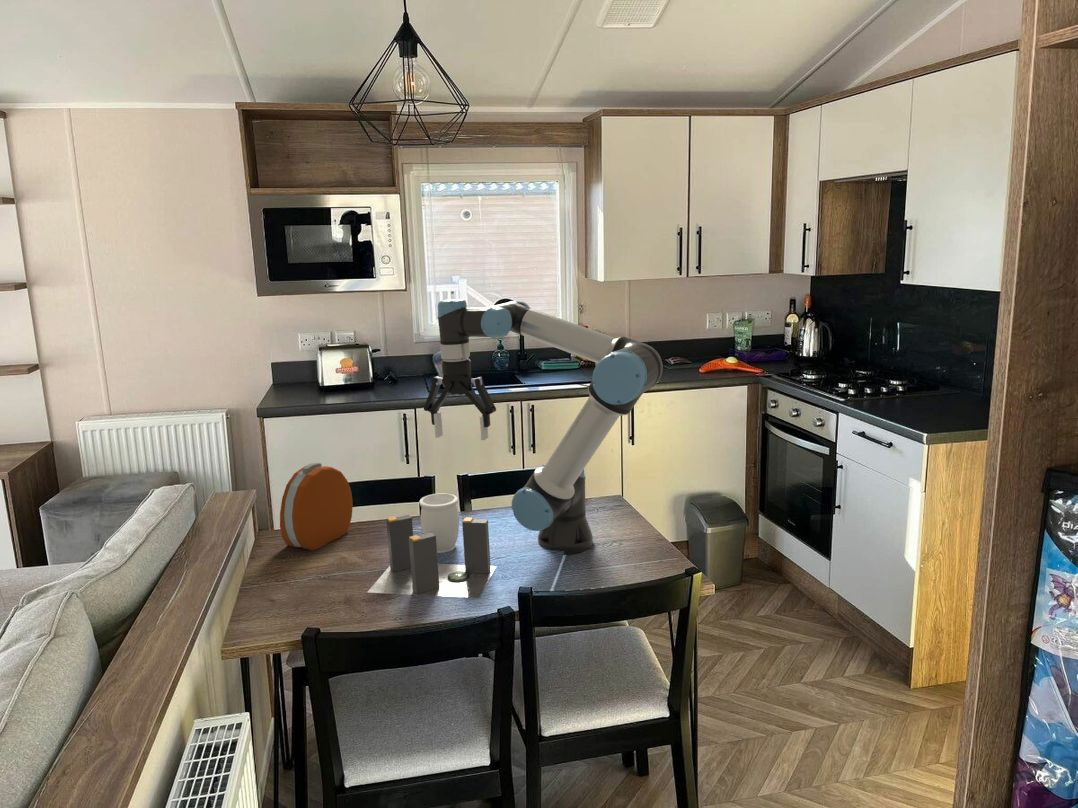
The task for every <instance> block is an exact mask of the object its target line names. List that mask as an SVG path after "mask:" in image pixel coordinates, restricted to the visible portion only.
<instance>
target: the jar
mask: <svg viewBox="0 0 1078 808" xmlns="http://www.w3.org/2000/svg"><path fill="white" fill-rule="evenodd" d="M458 502H459V498H458V496H457V495H455V494H452V493H447V492H446V493H442V492H440V493H432V494H428V495H424V496H423V497H421V498H420V500H419V506H420V507H421V510H420V525H421V531H422V533H423V534H422V535H424V534H428V533H433V534H434V535H436V545H437V554H439V553H440V554H441V553H448V552H451V551H453V550H454V549H456V547H457V545H456V544H457V542H458V538H459V530H460V529H459V528H460V512H459V509H458V506H457V504H458Z"/></svg>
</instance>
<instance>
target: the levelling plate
mask: <svg viewBox="0 0 1078 808" xmlns="http://www.w3.org/2000/svg"><path fill="white" fill-rule="evenodd" d="M490 567H491V570H490V571H489V573H467V572H465V564H453V563H452V564H451V563H438V573H439V588H437V589H433V590H430V591H427V592H423V593H420V594H416V593H415V592H413V588H412V575H411V568H408V569H404V570H399V571H395V572H393V571H392V570H391V569H390V565H389V566H388V567H387V568H386V570H384V572H383V573H382V574H381V576H379V578H378V579H377V580H376V581H375V582H374V583H373V585H372V586H371V587H370V588H369V589H368V591H367V593H368V594H387V595H388V594H389V595H404V596H405V595H406V596H428V597H429V596H430V597H431V596H432V597H446V598H447V597H448V598H449V597H450V598H451V597H452V598H464V599H465V598H466V599H467V598H468V599H480V597H481V596H482V594H483V592H484V590H485V588H486V586H487V585H488V583H489V581H490V579H491V577H492V576H493V574H494V572H495V570H496V568H497V565H490Z"/></svg>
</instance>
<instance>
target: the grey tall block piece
mask: <svg viewBox="0 0 1078 808" xmlns="http://www.w3.org/2000/svg"><path fill="white" fill-rule="evenodd" d="M461 523H462V538H463V539H462V540H463V556H464V565H465V572H467V573H489V571H490V570H491V567H490V566H491V553H490V552H491V551H490V549H491V548H490V535H489V534H490V533H489V531H490V530H489V519H486V518H485V519H484V518H481V519H479V518H474V517H471V516H470V517H468V516H467V517H464V519H463V520H462V522H461Z"/></svg>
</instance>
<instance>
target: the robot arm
mask: <svg viewBox="0 0 1078 808" xmlns="http://www.w3.org/2000/svg"><path fill="white" fill-rule="evenodd" d="M437 321H438V331H439V343H440V344H439V345H440V346H439V347H440V358H441V359H442V361H441V372H442V377H441V376H440V375H437V376H433V377H432V379H431V388H430V390H429V393H428V396H427V398H426V402H425V404H424V406H423V411H425V412H429V413H430V418H431V420H430V421H431V425H432V426H434V434H435V438H436V439H437V438H440V437H443V435H444V434H443V421H442V420H443V419H442V412H441V411H440V408H441V407H442V406H443V404H444V403H445V401H446V400H447V399H448V397H449V396H450V395H452V396H453V395H458V396H463V395H465V396H466V397H467V398H468V399H469V400H470V401H471V403H472V404H473V405H474V406H475V407H476V409H477V410H478V411H479V412H480V414H481V415H480V416H479V425H480V440H481V441H485V440H487V439H488V438H489V429H488V428H489V427H490V426H491V417H490V416H491V414H493V413H495V412H497V407H496V405H495V403H494V402H493V399H492V398H491V396H490V394H489V392H488V389H487V388H486V386H485V384H484V378H483V377H482V376H478V377H475V378H473V377H472V366H471V365H472V363H471V359H470V358H469V357H470V356H471V351H470V338H471V337H472V338H473V337H475V338H491V339H496V338H504V337H507V336H508V335H509V333H510V332H511V333H515V334H517V335H519V336H522V337H523V336H524V337H526V338H528V339H531V340H534V341H536V342H538V343H542V344H545V345H547V346H550V347H553V348H556V349H558V350H561V351H564V352H566V353H569V354H572V355H573V356H577V357H579V358H582V359H585V360H588V361H591V362H594V363H596V366H595V367H594V370H593V373H592V380H591V382H590V383H589V385H588V386H587V391H588V396H589V397H588V399H587V400H586V401H585V403H584V404H583V406H582V408H581V409H580V410H579V413H578V414H577V415H576V416H575V418H574V421H572V424H570V426H569V428H568V429H567V431H566V433H565V434H564V436H563V437H562V439H561V440H560V442H559V444H558V445H557V447H556V448H555V450H554V451H553V453H552V454H551V456H550V457H549V459H548V461H547V462H545V463H543V464H542V466H538V467H536V468H535V470H534V471H533V473H532V474H531V476H530V477H529V479H528V480H527V483H525V485H524V486H523V487H522V488H520V489H518V490H517V491H516V492H515V494H514V495H513V496H512V500H511V509H512V512H513V516H514V518H515V519H516V521H517V522H518V523H519V524H520V525H521V527H523V528H525V529H526V530H528V531H532V532H535V531H536V532H538V531H539V532H538V534H537V535H538V536H537V543H538V545H540V547H542V548H545V549H548V550H552V551H557V552H559V551H560V552H563V555H573V554H578V553H581V552H582V553H583V552H585V551H587V550H589V549H590V548H592V546H593V543H594V537H593V533H592V530H591V528H590V524H589V522H588V519H587V514H586V512H587V511H586V476H585V475H586V474H585V468H586V467H587V465H588V463H590V460H591V459H592V458H593V457H594V455H595V453H596V451H598V449H599V447H600V446H601V444H602V443H603V441H604V440H605V439H606V437H607V436H608V434H609V432H610V431H611V430H612V428H613V427H614V425H615V423H617V420H618V419H619V418H620V416H621V417H622V416H627V415H629V414H630V412H631V411H632V410H633V409H634V407H635V405H637V402H638V401H639V400H640V398H641V397H642V395H643V394H644V393H645V392H647V391H648V390H651V389H652V388H653V387H654V386H656V385H657V384H658V382H659V381H660V379H661V377H662V374H663V371H664V369H663V367H664V366H663V361H662V358H661V355H660V354H659V352H658V351H657V350H655V348H654V347H652V346H650V345H648V344H647V343H644V342H641V341H638V340H635V339H631V338H630V337H626V336H623V335H621V336H619V337H614V336H611V335H608V334H606V333H603V332H599V331H596V330H594V329H592V328H588V327H585V326H584V325H583V326H582V325H579V324H577V323H573V322H571V321H568V320H565V319H562V318H560V317H556V316H554V315H552V314H551V315H550V314H547V313H544V312H542V311H539V310H537V309H533V308H531V307H530V306H529V305H528V304H527V303H526V302H525V301H523V300H510V301H508V302H504V303H500V304H493V305H489V306H484V307H483V306H482V307H481V306H480V307H478V306H477V307H469V306H468V305H467V301H466V299H465V298H463V299H462V298H451V299H448V298H447V299H444V300H440V301H439V302H438V303H437ZM441 385H443V386H444V389H443V390H442V392H441V393H440V396H439V397H438V398H437V396H438V393H439V390H440V388H441ZM472 385H473V386H474V387H475V389H476V390H475V389H474V388H473V387H472ZM476 392H477V393H478V394H477V393H476ZM478 395H479V396H478ZM436 399H437V400H436Z"/></svg>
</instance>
